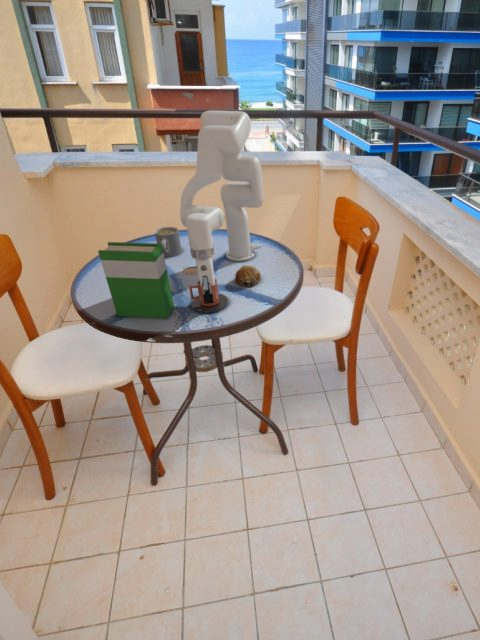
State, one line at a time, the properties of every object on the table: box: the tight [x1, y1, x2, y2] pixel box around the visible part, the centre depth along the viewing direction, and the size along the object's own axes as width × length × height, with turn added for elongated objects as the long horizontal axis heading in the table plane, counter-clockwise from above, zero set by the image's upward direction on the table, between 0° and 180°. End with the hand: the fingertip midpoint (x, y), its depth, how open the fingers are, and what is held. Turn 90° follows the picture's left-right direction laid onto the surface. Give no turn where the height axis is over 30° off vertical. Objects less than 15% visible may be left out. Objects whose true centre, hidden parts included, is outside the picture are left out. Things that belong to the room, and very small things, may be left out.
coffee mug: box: [154, 226, 183, 258], centre depth 182 cm, size 13×10×10 cm
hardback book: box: [97, 241, 175, 319], centre depth 138 cm, size 18×7×24 cm, turn 86°
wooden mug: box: [188, 278, 220, 306], centre depth 147 cm, size 10×7×8 cm
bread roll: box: [235, 265, 261, 287], centre depth 163 cm, size 10×10×8 cm
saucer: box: [190, 293, 229, 314], centre depth 149 cm, size 13×13×1 cm
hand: (209, 297), depth 148 cm, fingers closed on wooden mug, 6 cm apart
